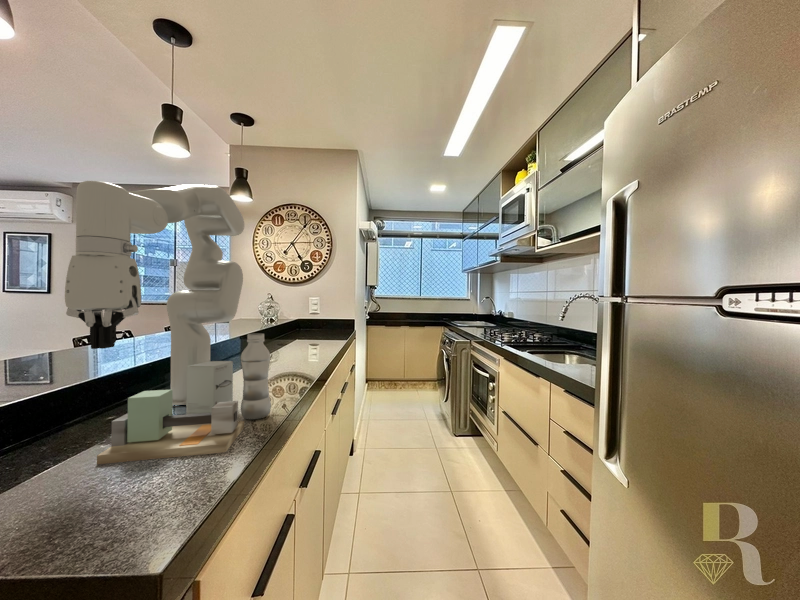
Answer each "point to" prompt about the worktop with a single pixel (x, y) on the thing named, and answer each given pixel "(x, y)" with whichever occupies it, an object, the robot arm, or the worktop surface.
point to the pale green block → (148, 415)
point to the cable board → (178, 436)
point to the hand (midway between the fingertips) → (103, 347)
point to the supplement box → (208, 385)
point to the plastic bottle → (255, 378)
